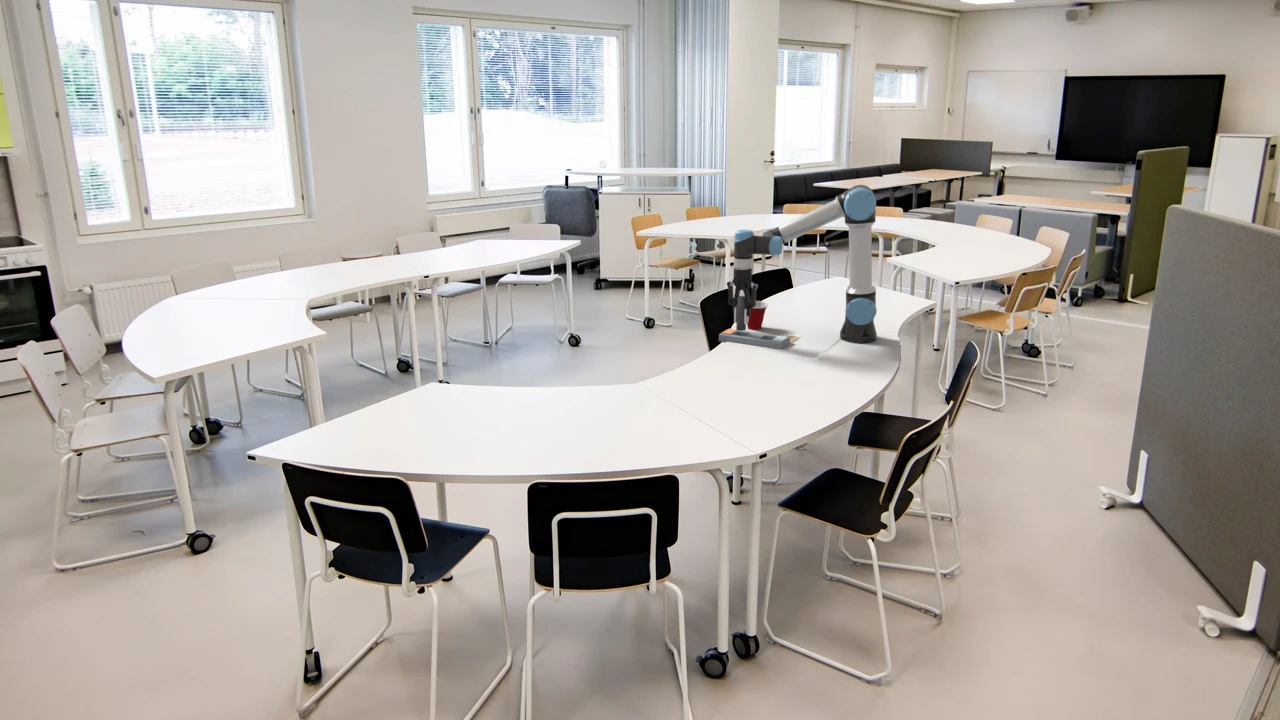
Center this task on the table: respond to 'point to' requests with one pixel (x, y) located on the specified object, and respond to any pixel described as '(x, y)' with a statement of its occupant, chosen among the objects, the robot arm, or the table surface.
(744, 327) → the plug
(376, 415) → the table surface
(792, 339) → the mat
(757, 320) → the plastic cup
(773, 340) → the socket block
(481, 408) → the table surface
